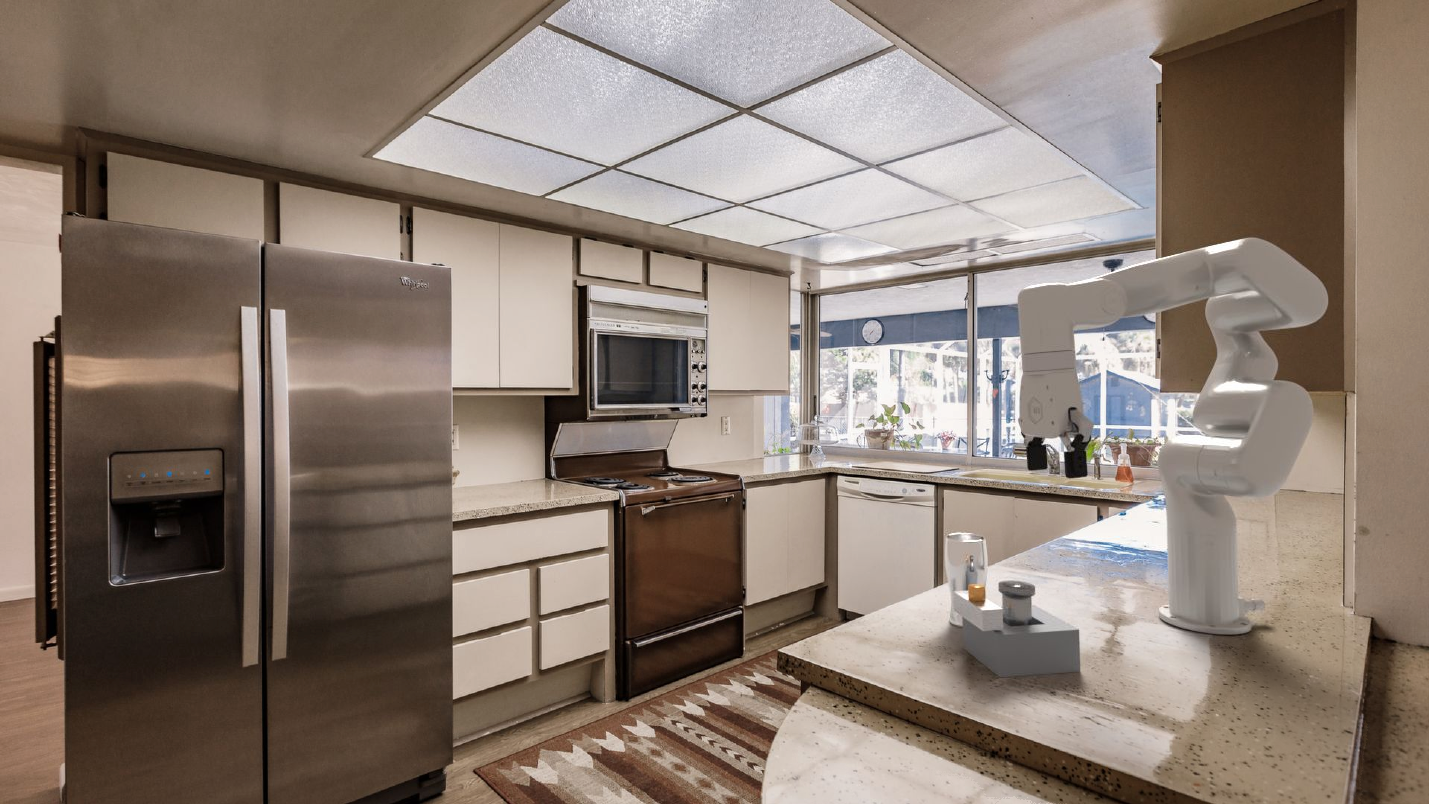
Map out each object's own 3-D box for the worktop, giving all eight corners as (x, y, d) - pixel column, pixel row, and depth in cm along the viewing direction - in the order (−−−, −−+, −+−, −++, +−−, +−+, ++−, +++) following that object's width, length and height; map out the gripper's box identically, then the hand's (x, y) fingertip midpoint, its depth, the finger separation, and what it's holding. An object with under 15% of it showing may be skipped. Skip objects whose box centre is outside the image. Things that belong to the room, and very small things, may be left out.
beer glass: (993, 630, 110) (990, 541, 110) (950, 629, 111) (947, 541, 111) (985, 616, 117) (982, 532, 117) (944, 615, 118) (941, 532, 118)
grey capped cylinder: (1024, 644, 101) (1023, 579, 101) (1043, 656, 96) (1042, 589, 96) (993, 645, 101) (992, 581, 100) (1010, 659, 96) (1009, 591, 95)
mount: (1035, 642, 104) (1034, 605, 104) (1080, 671, 93) (1079, 629, 93) (963, 647, 103) (962, 609, 103) (999, 677, 92) (998, 635, 92)
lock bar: (972, 609, 102) (971, 577, 102) (1003, 629, 93) (1002, 594, 93) (954, 610, 102) (953, 578, 102) (983, 631, 93) (982, 596, 93)
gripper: (996, 368, 110) (1003, 469, 110) (1060, 363, 93) (1069, 483, 93) (1038, 364, 111) (1045, 465, 111) (1110, 359, 94) (1118, 478, 94)
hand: (1056, 473), depth 102 cm, fingers open, 9 cm apart
